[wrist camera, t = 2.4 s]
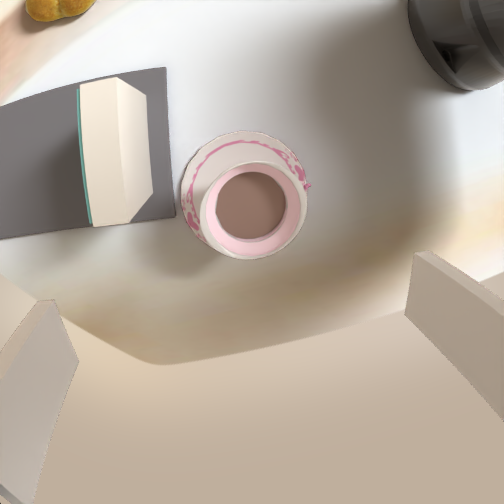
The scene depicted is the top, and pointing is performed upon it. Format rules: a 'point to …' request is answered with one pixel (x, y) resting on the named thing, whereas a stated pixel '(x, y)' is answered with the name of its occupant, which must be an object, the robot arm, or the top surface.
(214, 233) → the teacup
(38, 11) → the bread roll
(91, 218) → the tile
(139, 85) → the mat
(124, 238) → the top surface
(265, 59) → the top surface
